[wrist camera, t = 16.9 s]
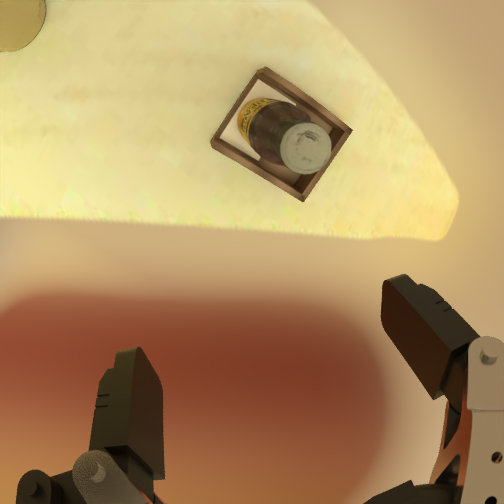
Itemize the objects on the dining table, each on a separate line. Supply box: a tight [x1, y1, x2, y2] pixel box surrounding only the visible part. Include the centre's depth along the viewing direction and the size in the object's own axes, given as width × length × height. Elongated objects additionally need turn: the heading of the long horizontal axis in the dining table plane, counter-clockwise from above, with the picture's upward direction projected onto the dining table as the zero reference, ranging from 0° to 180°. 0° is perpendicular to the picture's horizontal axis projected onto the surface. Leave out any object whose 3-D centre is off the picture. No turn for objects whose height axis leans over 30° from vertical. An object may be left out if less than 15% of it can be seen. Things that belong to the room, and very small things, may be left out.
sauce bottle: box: [237, 98, 332, 175], centre depth 31 cm, size 7×6×20 cm
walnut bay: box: [210, 67, 353, 202], centre depth 39 cm, size 14×12×5 cm
